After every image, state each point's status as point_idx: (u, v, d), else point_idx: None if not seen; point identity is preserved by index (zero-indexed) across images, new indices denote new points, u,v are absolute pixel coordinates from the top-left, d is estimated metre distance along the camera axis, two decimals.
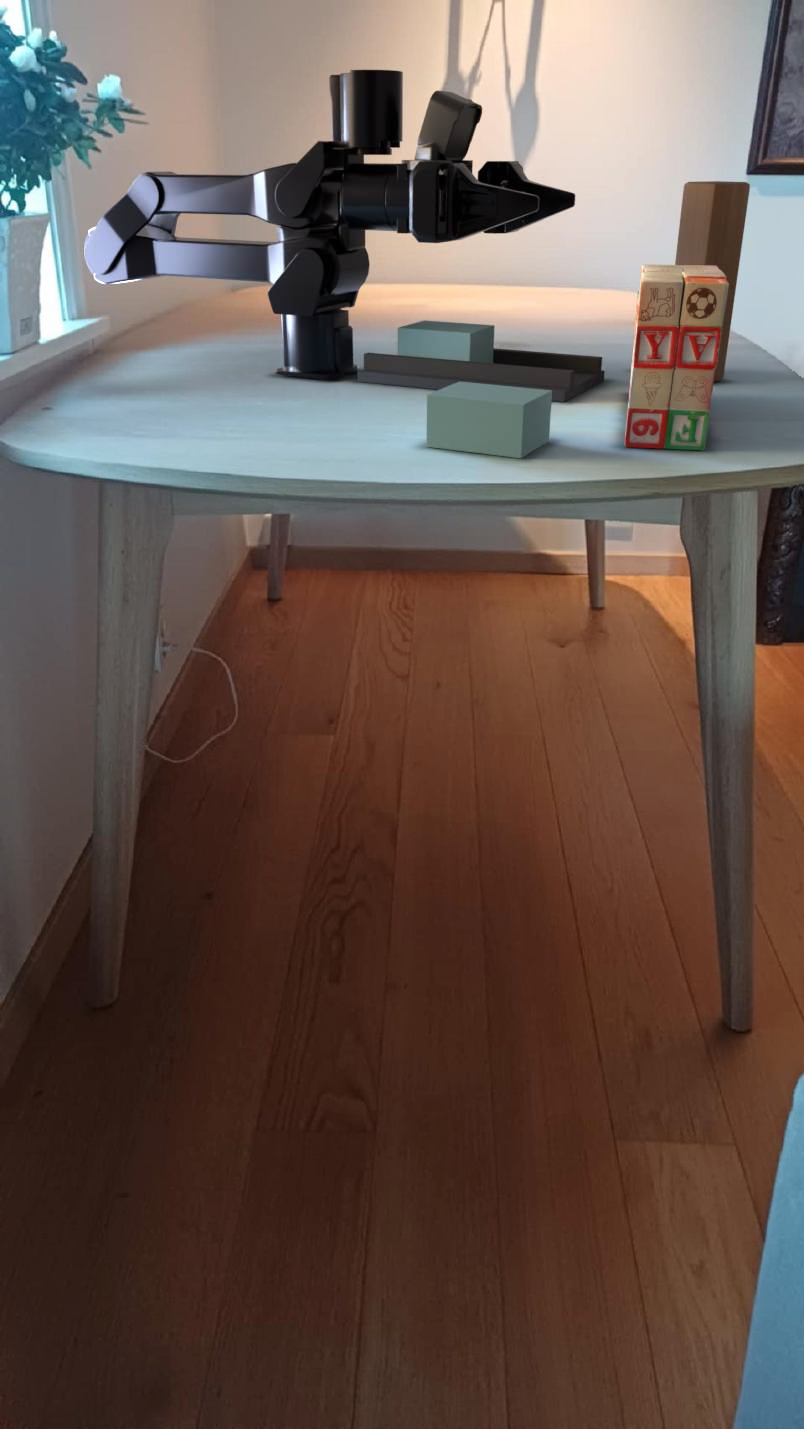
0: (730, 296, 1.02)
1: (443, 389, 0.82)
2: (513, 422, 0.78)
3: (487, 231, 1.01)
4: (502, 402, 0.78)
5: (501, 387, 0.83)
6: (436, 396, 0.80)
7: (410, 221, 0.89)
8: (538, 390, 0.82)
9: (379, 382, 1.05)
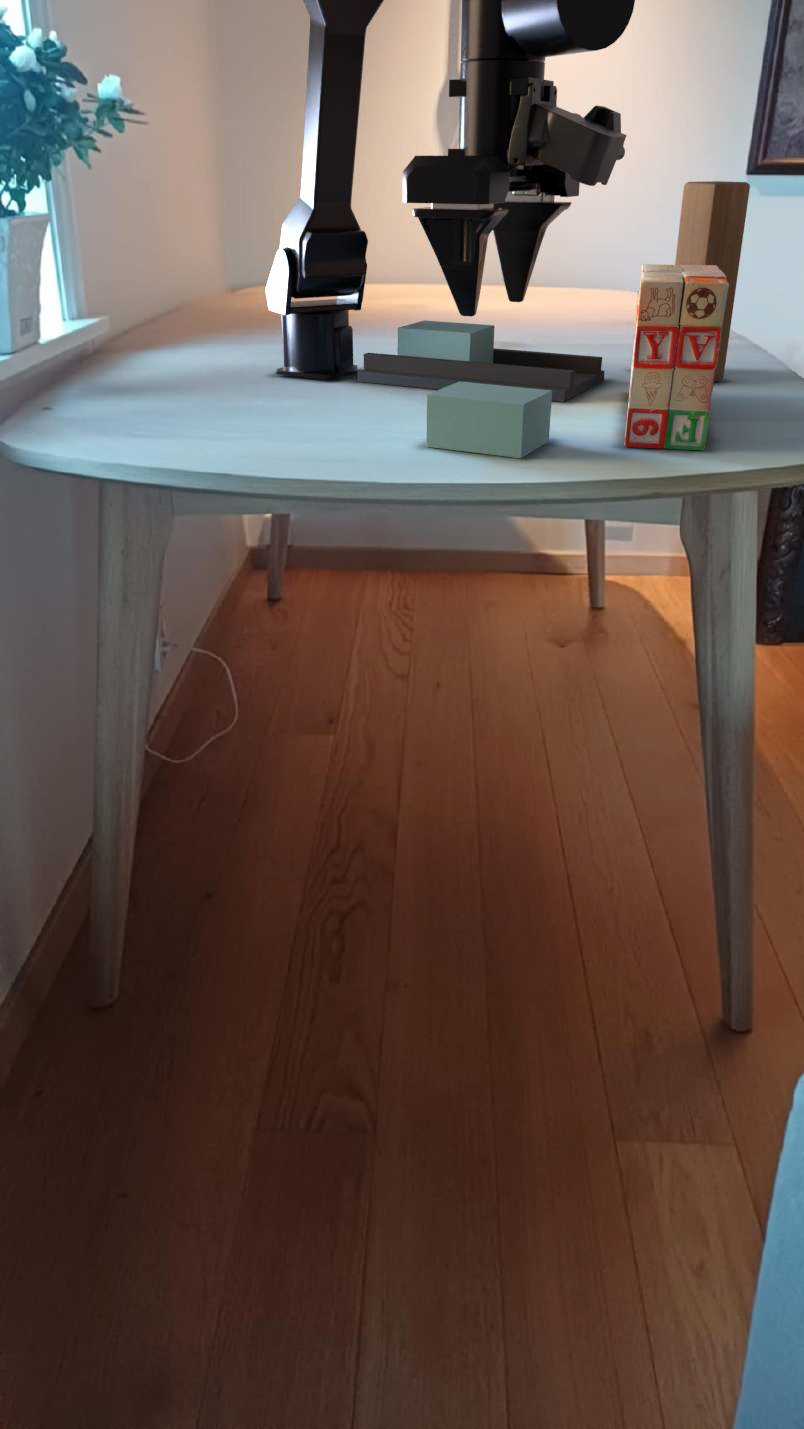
0: (730, 296, 1.02)
1: (443, 389, 0.82)
2: (513, 422, 0.78)
3: None
4: (502, 402, 0.78)
5: (501, 387, 0.83)
6: (436, 396, 0.80)
7: (423, 159, 0.67)
8: (538, 390, 0.82)
9: (379, 382, 1.05)
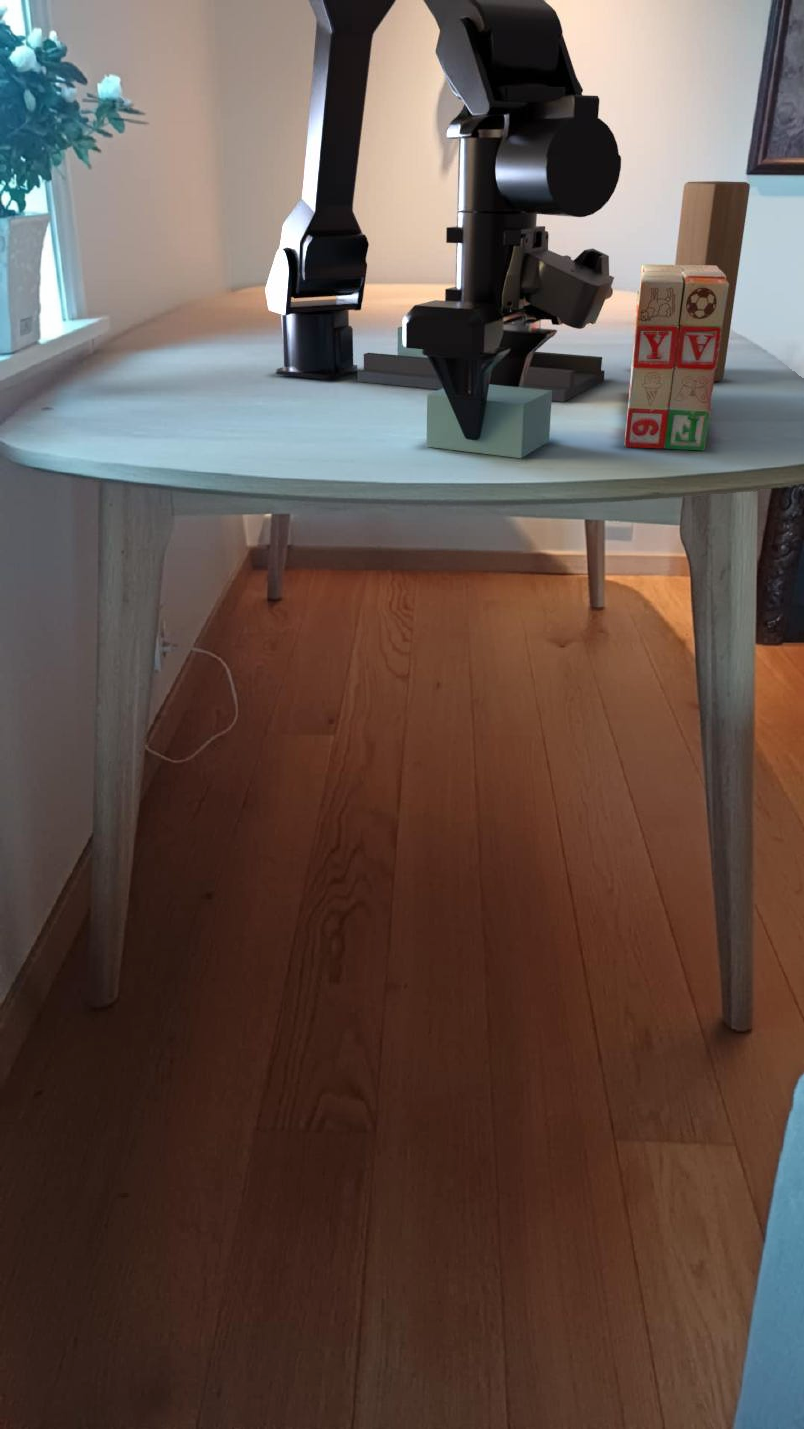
0: (730, 296, 1.02)
1: (443, 389, 0.82)
2: (513, 422, 0.78)
3: None
4: (502, 402, 0.78)
5: (501, 387, 0.83)
6: (436, 396, 0.80)
7: (422, 310, 0.71)
8: (538, 390, 0.82)
9: (379, 382, 1.05)
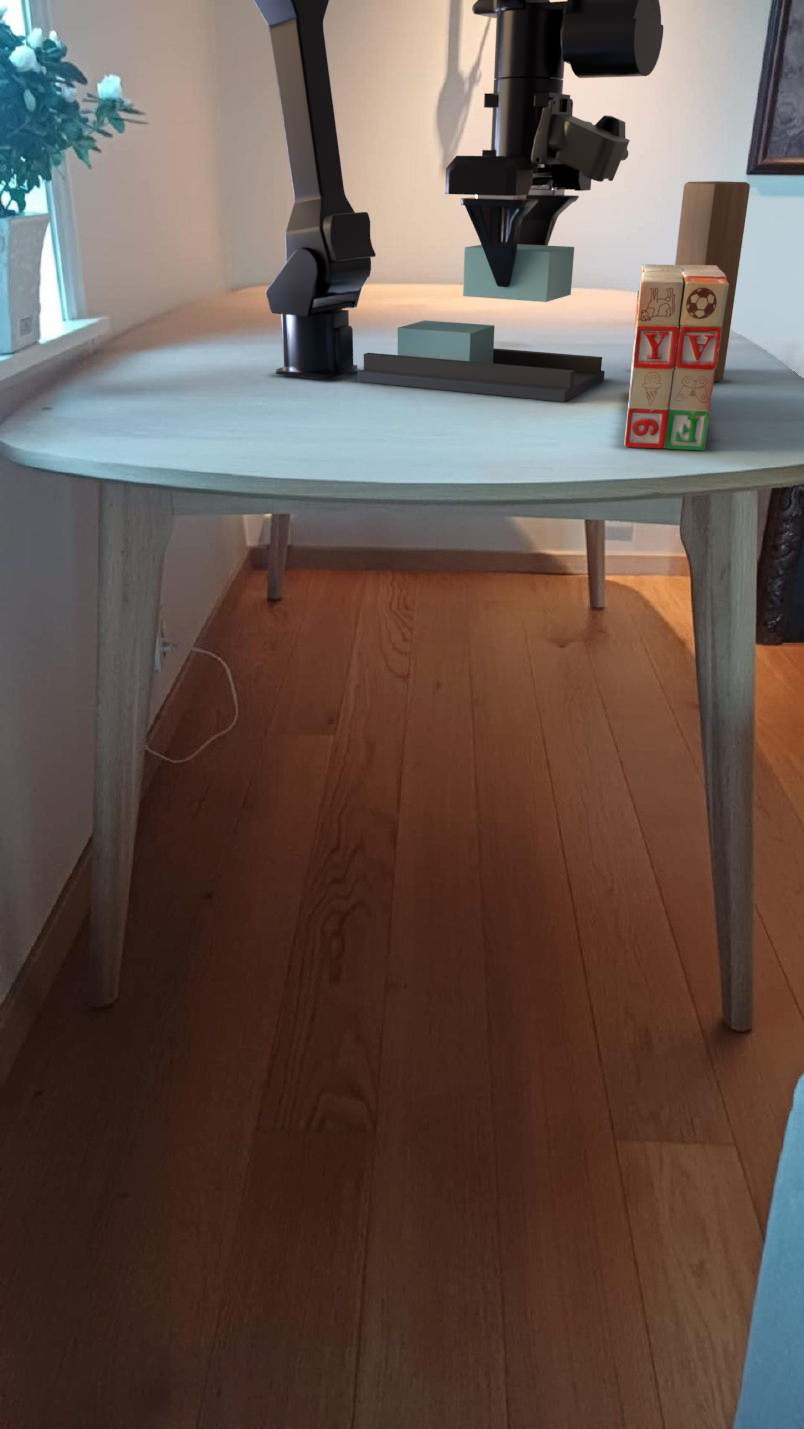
0: (730, 296, 1.02)
1: (478, 245, 0.93)
2: (540, 269, 0.89)
3: None
4: (530, 251, 0.89)
5: (529, 245, 0.94)
6: (473, 248, 0.91)
7: (463, 159, 0.83)
8: (562, 246, 0.93)
9: (379, 382, 1.05)
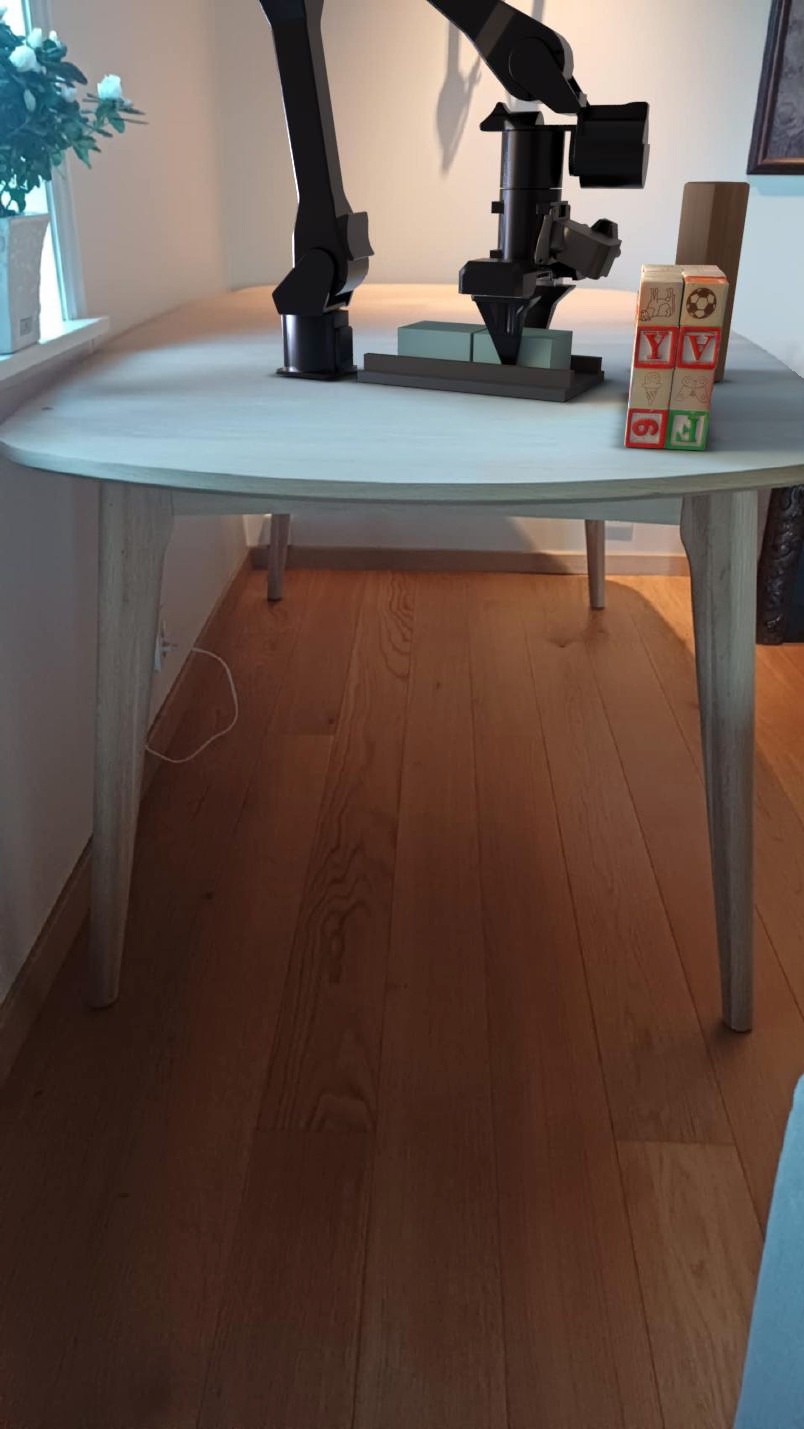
0: (730, 296, 1.02)
1: (486, 330, 1.03)
2: (543, 354, 0.99)
3: None
4: (534, 338, 0.99)
5: (532, 329, 1.04)
6: (481, 334, 1.01)
7: (474, 264, 0.92)
8: (562, 330, 1.03)
9: (379, 382, 1.05)
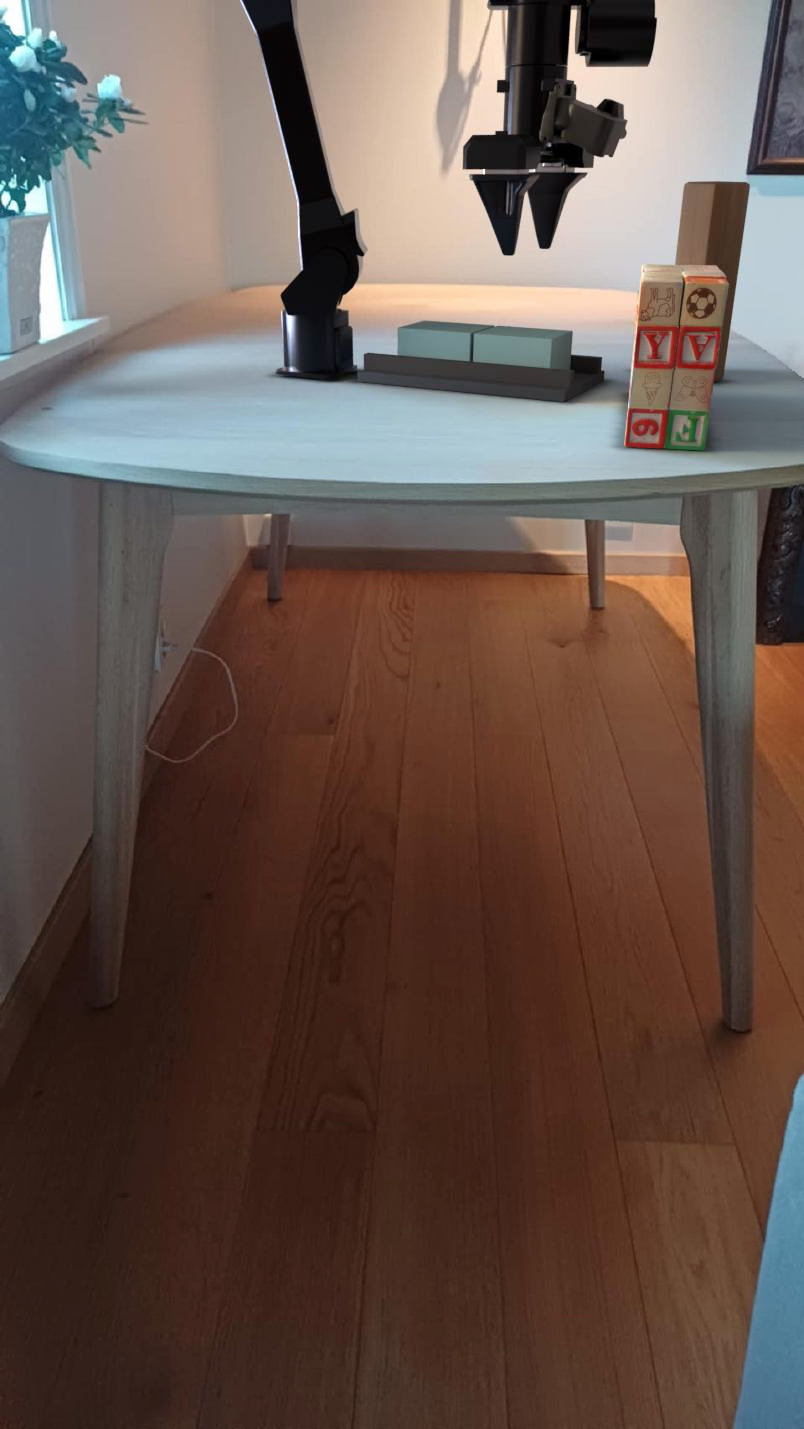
0: (730, 296, 1.02)
1: (486, 330, 1.03)
2: (543, 354, 0.99)
3: None
4: (534, 338, 0.99)
5: (532, 329, 1.04)
6: (481, 334, 1.01)
7: (478, 137, 0.93)
8: (562, 330, 1.03)
9: (379, 382, 1.05)
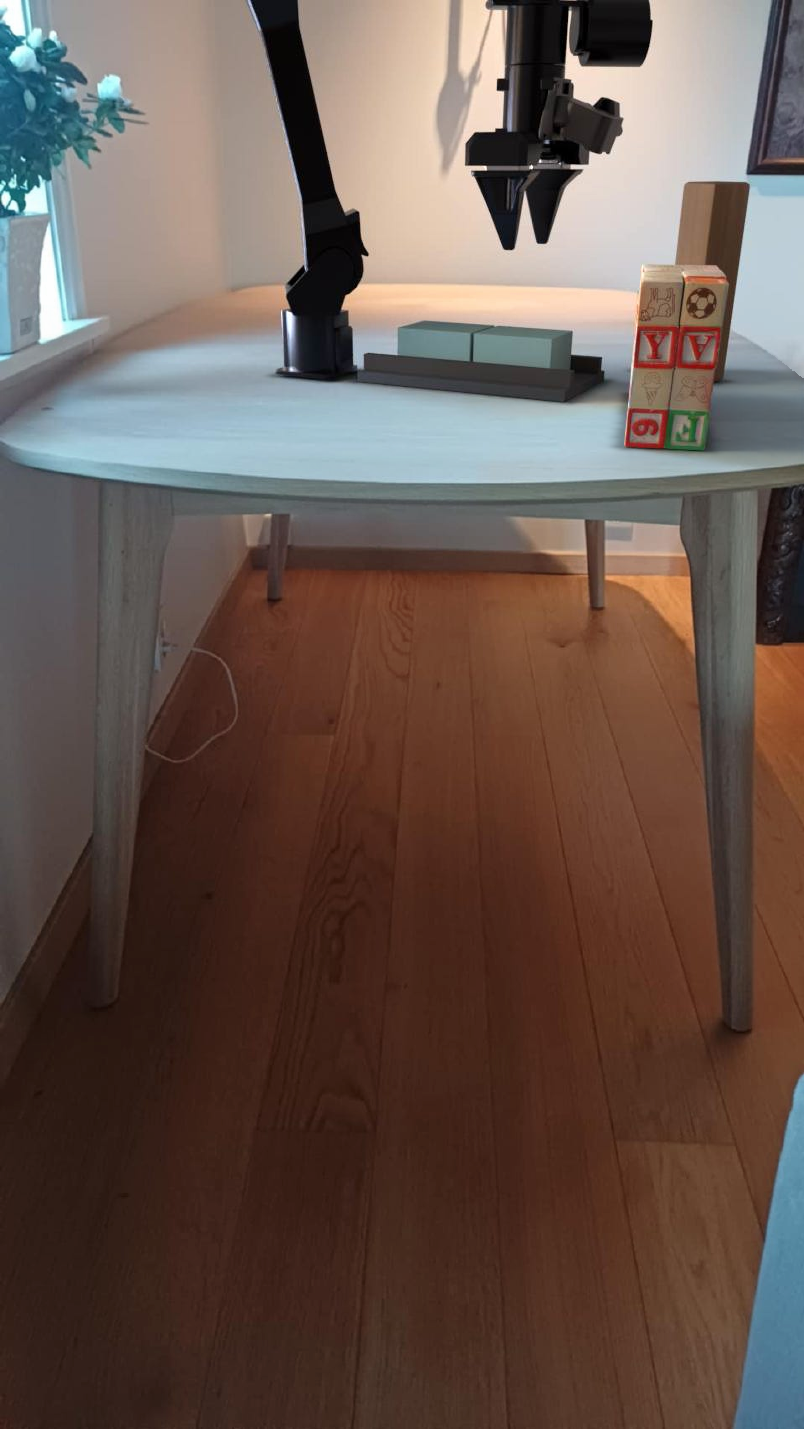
0: (730, 296, 1.02)
1: (486, 330, 1.03)
2: (543, 354, 0.99)
3: None
4: (534, 338, 0.99)
5: (532, 329, 1.04)
6: (481, 334, 1.01)
7: (481, 135, 0.95)
8: (562, 330, 1.03)
9: (379, 382, 1.05)
